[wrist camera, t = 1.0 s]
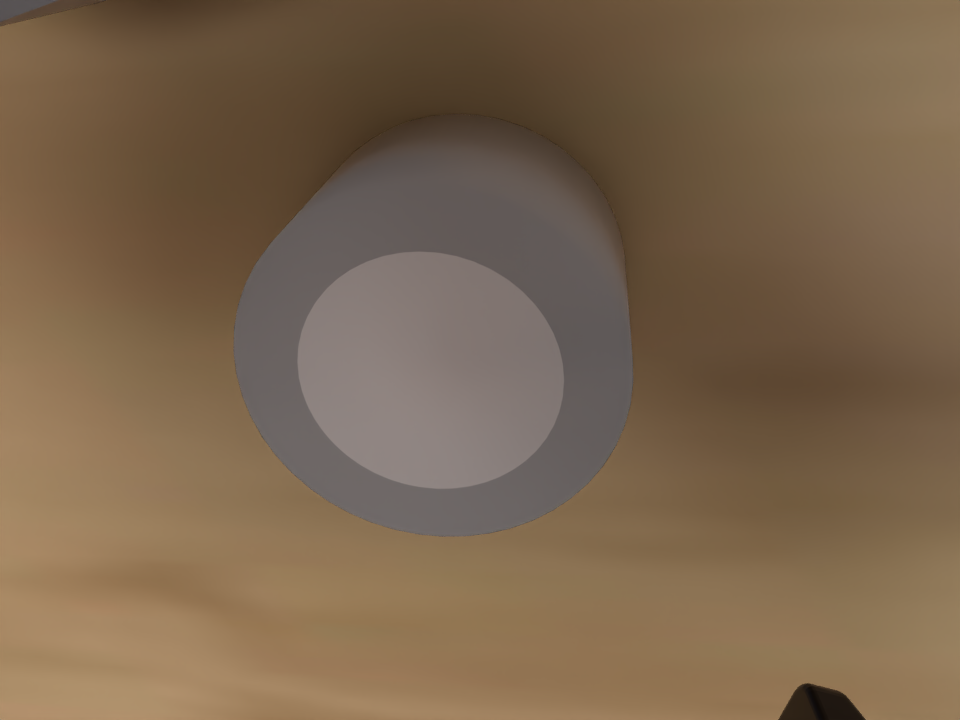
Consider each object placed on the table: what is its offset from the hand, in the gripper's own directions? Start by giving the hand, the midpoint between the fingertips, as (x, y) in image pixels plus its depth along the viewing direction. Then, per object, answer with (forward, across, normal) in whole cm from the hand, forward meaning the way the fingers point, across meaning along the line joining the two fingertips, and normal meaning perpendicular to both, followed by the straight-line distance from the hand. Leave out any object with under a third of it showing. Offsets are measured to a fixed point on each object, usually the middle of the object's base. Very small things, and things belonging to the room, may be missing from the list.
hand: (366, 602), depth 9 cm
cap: (+9, 0, 0) cm, 9 cm away
